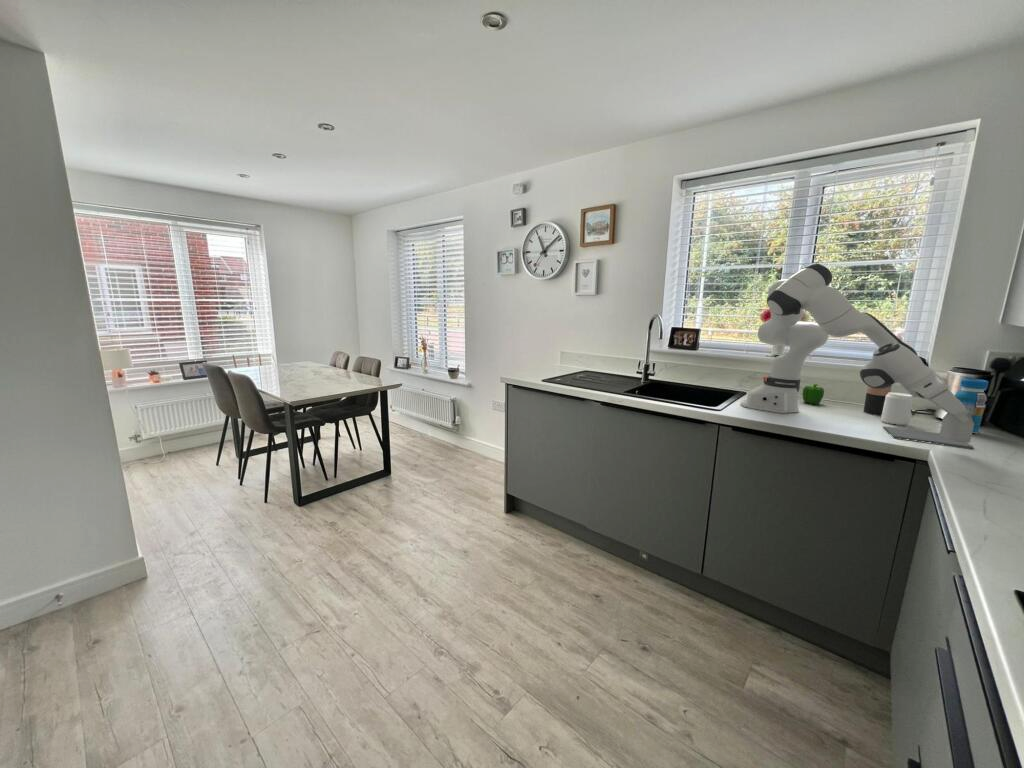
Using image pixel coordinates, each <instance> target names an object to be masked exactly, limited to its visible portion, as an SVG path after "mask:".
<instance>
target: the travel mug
mask: <svg viewBox="0 0 1024 768" xmlns="http://www.w3.org/2000/svg"><path fill="white" fill-rule="evenodd" d="M892 385H893V384H892ZM892 385H891V386H889V387H887V388H883V389H876V388H872V387H870V386H868V385H867V389H866V394H865V400H864V405H863V412H864V413H866V414H868V415H869V414H870V415H874V414H876V415H875V416H882V412H883V407H884V402H885V398H886V395H887V394H888V393H889V392H891V391H892Z"/></svg>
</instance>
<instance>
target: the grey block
mask: <svg viewBox="0 0 1024 768" xmlns="http://www.w3.org/2000/svg"><path fill="white" fill-rule="evenodd" d="M963 413H964V414H965V416H967V417H968V418H969V420H968V421H966V422H961V421H960V420H959V419H958V418H957V417H956V416H952V415H950V414H949V413H947V412H946V414H945V415H944V416H943V418H942V422H941V426H940V431H939V433H940V435H941V436H944V437H946V438H948V439H950V440H953V441H955V442H967V443H968V444H971V439H972V435H973V434H972V432H973V427H974V423H973V420H972V417H971V412H970V411H967V410H965V411H964V412H963Z"/></svg>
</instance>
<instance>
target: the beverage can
mask: <svg viewBox="0 0 1024 768" xmlns="http://www.w3.org/2000/svg"><path fill="white" fill-rule="evenodd" d="M913 402H914V396H912V395H911V394H910V393H905V392H897V391H896V392H894V391H893V392H891V391H890V392H889V393H888V394H887V395H886V398H885V402H884V407H883V412H882V415H880V420H881V421H882V422H883V423H885V422H886V423H885V424H888V423H890V424H889V425H893V424H896V425H895V426H906V425H908V424H909V421H910V416H911V411H912V408H913V404H914V403H913Z"/></svg>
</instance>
